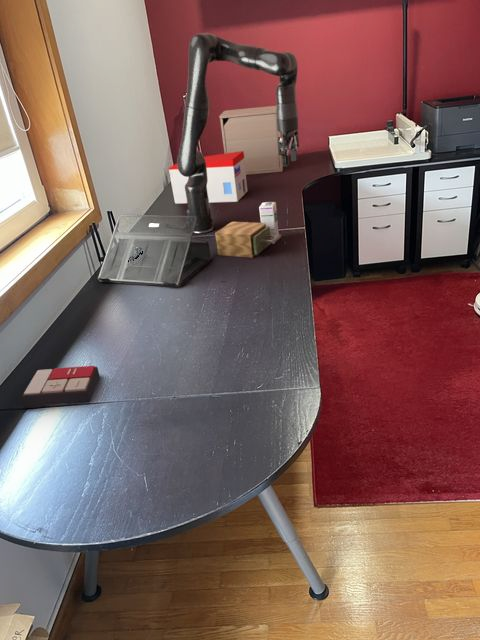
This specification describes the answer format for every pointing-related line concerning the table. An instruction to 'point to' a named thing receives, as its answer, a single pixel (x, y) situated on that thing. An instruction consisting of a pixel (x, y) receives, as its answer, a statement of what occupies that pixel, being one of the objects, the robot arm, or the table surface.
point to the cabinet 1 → (253, 138)
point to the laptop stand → (155, 253)
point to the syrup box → (269, 217)
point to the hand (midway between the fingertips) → (290, 163)
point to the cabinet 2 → (237, 239)
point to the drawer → (263, 240)
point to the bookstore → (216, 178)
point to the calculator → (61, 386)
